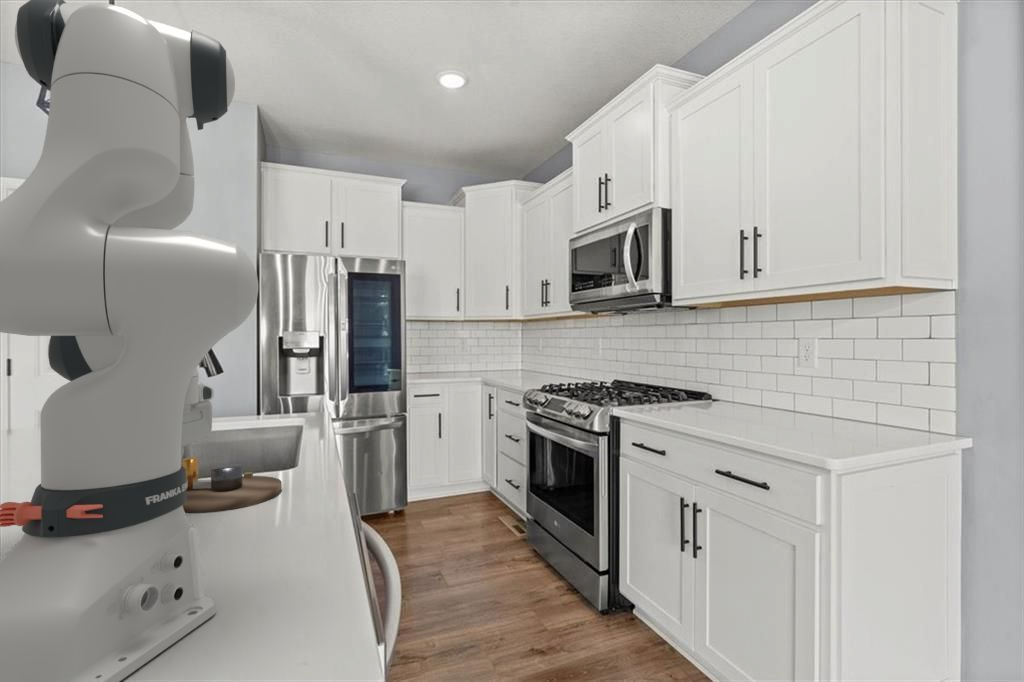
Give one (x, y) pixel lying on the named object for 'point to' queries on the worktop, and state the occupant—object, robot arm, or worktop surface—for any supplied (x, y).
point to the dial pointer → (213, 476)
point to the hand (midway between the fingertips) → (169, 475)
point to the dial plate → (233, 495)
